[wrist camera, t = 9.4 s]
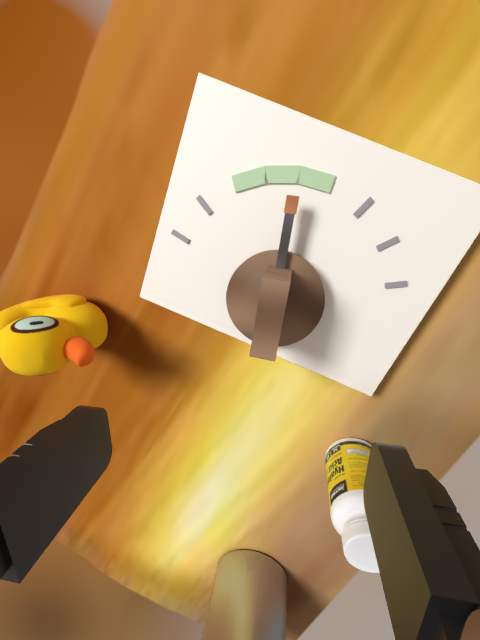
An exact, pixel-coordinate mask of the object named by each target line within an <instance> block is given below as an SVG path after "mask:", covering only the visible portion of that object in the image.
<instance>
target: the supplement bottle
mask: <svg viewBox="0 0 480 640" xmlns="http://www.w3.org/2000/svg"><path fill="white" fill-rule="evenodd" d="M371 446H372V445H371V444H370V443H368V442H366V441H364V440H361V439H358V438H344V439H340V440H338V441H336V442H334V443H333V444H332V445H331V446H330V447H329V448H328V450H327V452H326V455H325V464H326V474H327V485H328V494H329V504H330V514H331V520H332V523H333V525H334V527H335V529H336V530H337V532H338V533H339V534H340V535H341V536H342V544H343V550H344V555H345V557H346V559H347V560H348V562H349V563H350V564H351V565H353V566H354V567H356V568H358V569H360V570H362V571H366V572H371V573H380V572H379V568H378V564H377V559H376V555H375V551H374V547H373V543H372V538H371V534H370V530H369V526H368V521H367V517H366V513H365V508H364V498H363V490H364V482H365V477H366V471H367V466H368V461H369V455H370V450H371Z"/></svg>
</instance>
